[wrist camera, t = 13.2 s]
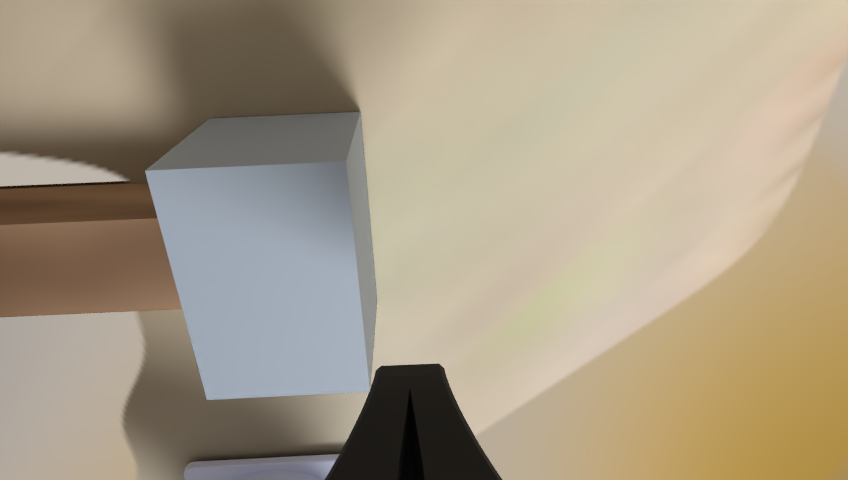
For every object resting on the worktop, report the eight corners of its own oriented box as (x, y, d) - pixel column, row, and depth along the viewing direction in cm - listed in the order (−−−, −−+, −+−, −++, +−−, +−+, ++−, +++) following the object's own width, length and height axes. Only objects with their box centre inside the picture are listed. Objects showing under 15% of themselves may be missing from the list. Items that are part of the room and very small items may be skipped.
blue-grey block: (377, 300, 22) (370, 391, 17) (248, 307, 22) (207, 400, 17) (360, 111, 19) (345, 161, 14) (209, 118, 19) (144, 170, 14)
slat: (332, 252, 21) (320, 302, 18) (-95, 271, 21) (-181, 325, 18) (322, 172, 20) (307, 211, 17) (-135, 192, 20) (-236, 235, 17)
